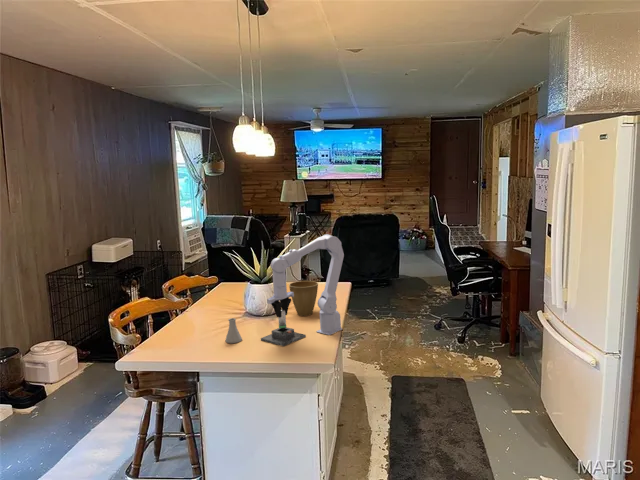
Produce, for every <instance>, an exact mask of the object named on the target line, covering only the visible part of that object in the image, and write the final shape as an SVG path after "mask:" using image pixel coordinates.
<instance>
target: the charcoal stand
mask: <svg viewBox="0 0 640 480" xmlns="http://www.w3.org/2000/svg"><path fill="white" fill-rule="evenodd" d="M306 337H307V336H306V334H304V333H299V332H296V331H295V328H291V327H287V326H286V328H283V329H281V328H279V327H278V328H274V329H273V330H271V333H270V334H267V335H265V336H263V337H261V338H260V341H262V342H265V343H270V344H273V345H276V346H280V347H285V346H288V345H290V344H293V343H295V342H298V341H299V340H302V339H304V338H306Z"/></svg>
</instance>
